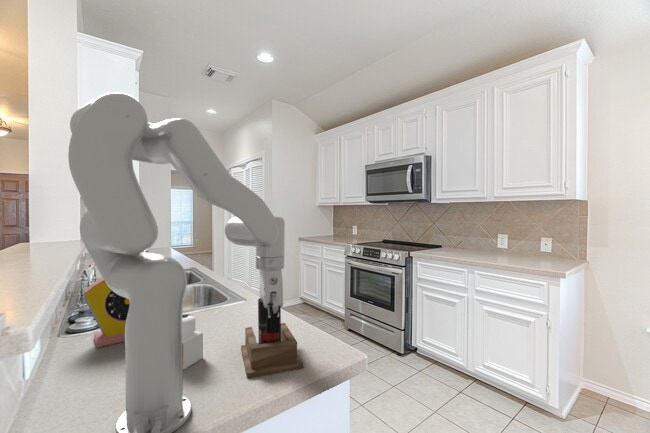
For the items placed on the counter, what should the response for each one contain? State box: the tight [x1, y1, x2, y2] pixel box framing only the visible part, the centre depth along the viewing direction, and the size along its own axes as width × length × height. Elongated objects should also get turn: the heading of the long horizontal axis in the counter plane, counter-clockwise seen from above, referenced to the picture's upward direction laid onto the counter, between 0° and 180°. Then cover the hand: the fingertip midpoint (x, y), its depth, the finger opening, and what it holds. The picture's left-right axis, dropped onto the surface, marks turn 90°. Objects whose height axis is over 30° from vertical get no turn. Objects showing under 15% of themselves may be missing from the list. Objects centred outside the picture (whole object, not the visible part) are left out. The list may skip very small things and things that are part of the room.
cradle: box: [240, 322, 304, 379], centre depth 84 cm, size 16×14×6 cm
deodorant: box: [257, 296, 282, 344], centre depth 83 cm, size 6×6×15 cm
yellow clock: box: [82, 276, 130, 349], centre depth 98 cm, size 22×9×22 cm, turn 130°
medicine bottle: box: [182, 313, 204, 371], centre depth 82 cm, size 7×7×12 cm
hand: (269, 326), depth 83 cm, fingers open, 9 cm apart
